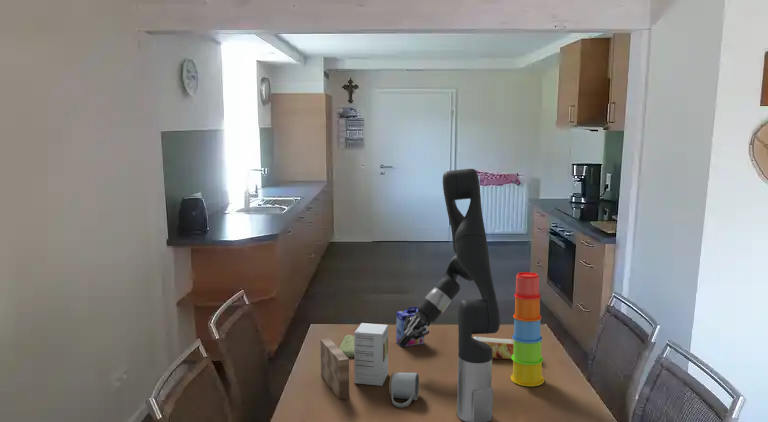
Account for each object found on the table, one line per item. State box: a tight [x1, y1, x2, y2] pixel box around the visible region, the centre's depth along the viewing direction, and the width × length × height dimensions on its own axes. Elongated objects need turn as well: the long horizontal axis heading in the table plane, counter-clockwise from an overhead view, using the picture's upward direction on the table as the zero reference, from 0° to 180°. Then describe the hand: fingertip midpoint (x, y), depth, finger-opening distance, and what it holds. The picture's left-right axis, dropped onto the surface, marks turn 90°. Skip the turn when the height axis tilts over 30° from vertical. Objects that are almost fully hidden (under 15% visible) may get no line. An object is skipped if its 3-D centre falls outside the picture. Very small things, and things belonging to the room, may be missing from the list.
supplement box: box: [353, 322, 389, 387], centre depth 178 cm, size 10×9×17 cm
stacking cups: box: [510, 271, 545, 387], centre depth 176 cm, size 10×10×35 cm
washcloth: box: [338, 334, 354, 358], centre depth 204 cm, size 13×18×3 cm
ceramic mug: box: [388, 372, 420, 409], centre depth 165 cm, size 11×8×8 cm
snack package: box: [472, 336, 514, 360], centre depth 197 cm, size 21×7×7 cm, turn 82°
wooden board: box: [319, 338, 350, 400], centre depth 174 cm, size 18×3×12 cm, turn 24°
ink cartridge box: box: [395, 306, 425, 347], centre depth 209 cm, size 10×6×14 cm, turn 115°
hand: (400, 345), depth 183 cm, fingers closed
